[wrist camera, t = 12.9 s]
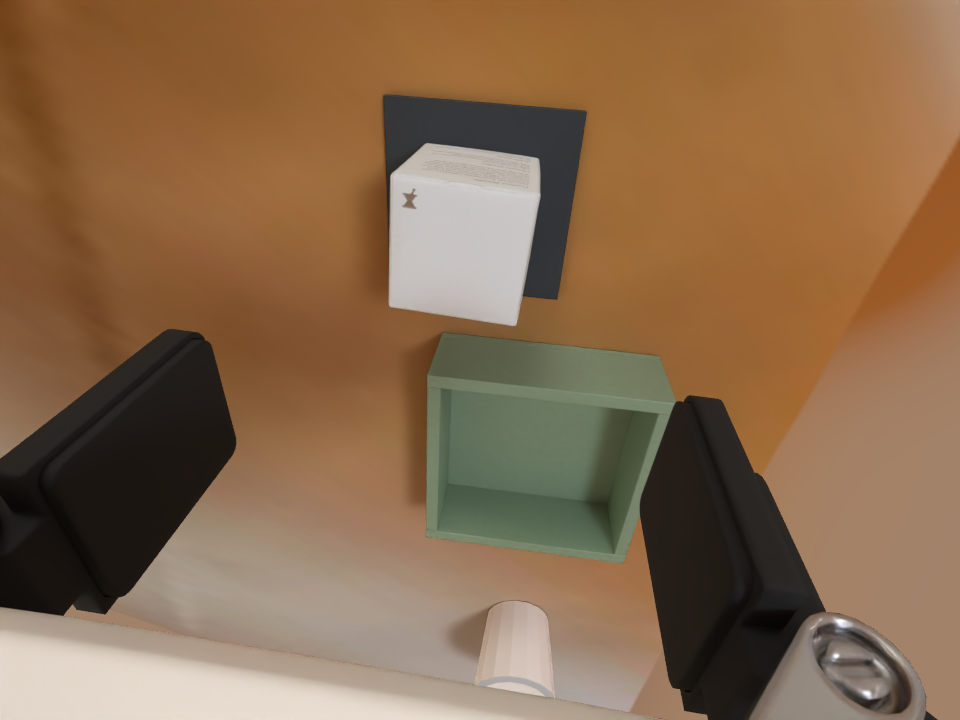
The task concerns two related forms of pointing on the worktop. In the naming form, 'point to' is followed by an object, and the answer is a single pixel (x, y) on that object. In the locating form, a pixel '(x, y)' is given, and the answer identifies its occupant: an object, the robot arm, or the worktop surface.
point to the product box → (462, 232)
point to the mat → (507, 132)
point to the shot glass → (516, 650)
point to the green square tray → (541, 444)
